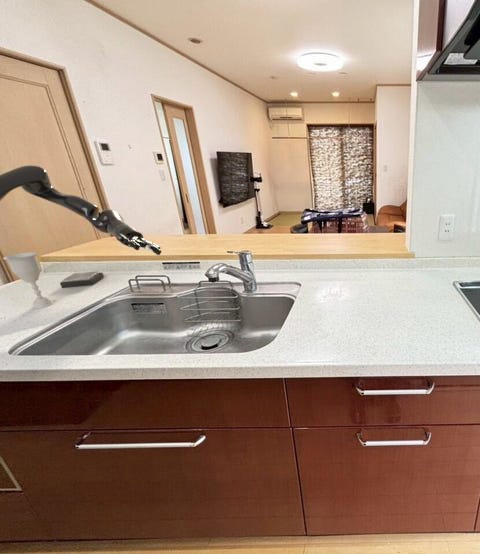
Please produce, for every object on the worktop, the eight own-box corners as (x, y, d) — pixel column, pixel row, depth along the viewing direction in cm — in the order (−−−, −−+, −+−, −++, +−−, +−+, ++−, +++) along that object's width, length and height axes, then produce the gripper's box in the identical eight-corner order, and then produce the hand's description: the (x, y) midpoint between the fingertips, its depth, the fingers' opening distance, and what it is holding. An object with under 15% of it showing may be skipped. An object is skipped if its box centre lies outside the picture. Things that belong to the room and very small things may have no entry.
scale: (61, 288, 115) (58, 281, 114) (75, 279, 123) (73, 272, 122) (92, 285, 118) (89, 278, 117) (104, 277, 126) (101, 270, 125)
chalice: (58, 298, 107) (37, 251, 100) (58, 304, 102) (36, 255, 96) (28, 305, 102) (4, 255, 95) (27, 311, 98) (1, 260, 91)
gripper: (113, 222, 119) (135, 237, 114) (148, 232, 133) (170, 246, 127) (104, 238, 120) (126, 254, 114) (141, 247, 133) (162, 262, 127)
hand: (149, 250), depth 121 cm, fingers open, 8 cm apart
